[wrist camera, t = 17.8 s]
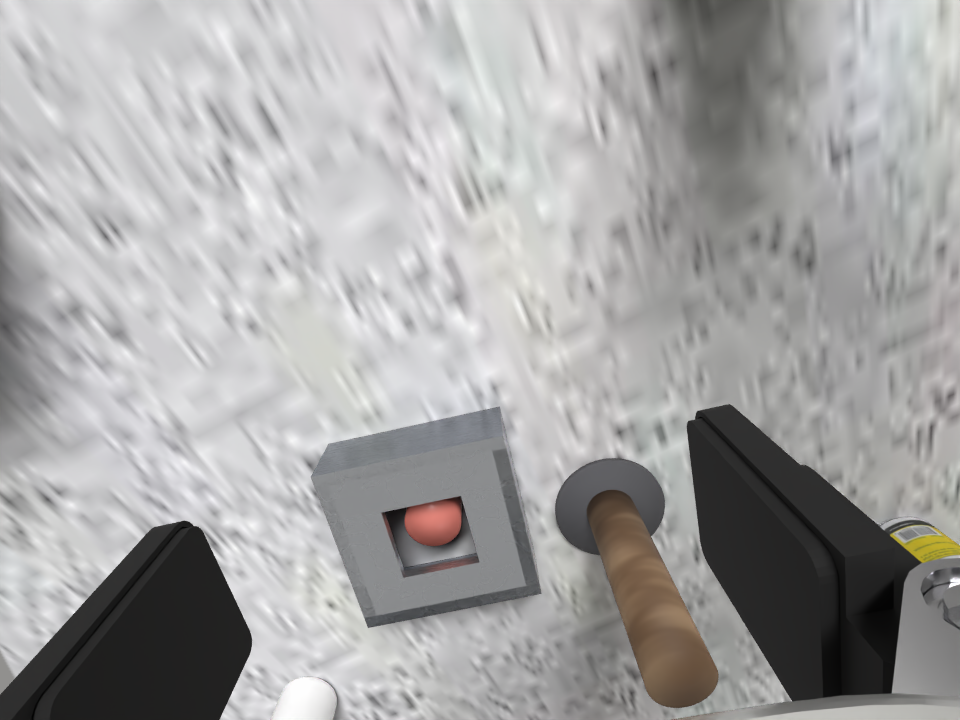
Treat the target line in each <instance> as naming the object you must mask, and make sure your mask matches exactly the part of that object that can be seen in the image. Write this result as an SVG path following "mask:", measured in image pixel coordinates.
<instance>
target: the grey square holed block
mask: <svg viewBox="0 0 960 720" xmlns="http://www.w3.org/2000/svg"><path fill="white" fill-rule="evenodd" d="M311 479H312V482H313V484H314V487H315V489H316V492H317V495H318V497H319V500H320V503H321V505H322V508H323V510H324V513H325V516H326V518H327V521H328V524H329V526H330V529H331V531H332V534H333V537H334V539H335V542H336V545H337V547H338V550H339V552H340V555H341V558H342V560H343V563H344V566H345V568H346V571H347V573H348V576H349V579H350V581H351V584H352V587H353V589H354V592H355V594H356V597H357V600H358V602H359V605H360V608H361V610H362V613H363V615H364V618H365V621H366V623H367V626H368V628H370V627H375V626H380V625H385V624H390V623H395V622H400V621H405V620H410V619H415V618H420V617H425V616H430V615H436V614H441V613H446V612H451V611H456V610H461V609H466V608H471V607H476V606H481V605H486V604H491V603H496V602H501V601H506V600H511V599H516V598H522V597H527V596H532V595H537V594H541V589H540V583H539V577H538V571H537V565H536V559H535V553H534V549H533V544H532V540H531V536H530V532H529V528H528V523H527V519H526V515H525V511H524V507H523V503H522V498H521V494H520V490H519V486H518V482H517V478H516V473H515V469H514V465H513V461H512V457H511V453H510V448H509V444H508V440H507V436H506V432H505V427H504V423H503V419H502V415H501V411H500V407H496V408H492V409H487V410H483V411H478V412H473V413H469V414H464V415H460V416H455V417H451V418H446V419H441V420H437V421H432V422H428V423H423V424H419V425H414V426H410V427H405V428H400V429H396V430H391V431H387V432H382V433H378V434H373V435H368V436H364V437H359V438H355V439H350V440H346V441H341V442H336V443H332V444H328V446H327V448H326V450H325V452H324V454H323V455H322V457H321V459H320V461H319V463H318V465H317V467H316V469H315V470H314V472H313V474H312V476H311ZM458 496H461V498H462V502H463V505H464V509H465V512H466V516H467V519H468V523H469V526H470V530H471V534H472V537H473V541H474V544H475V548H476V551H477V553H475V554H470V555H465V556H461V557H456V558H451V559H446V560H441V561H436V562H431V563H426V564H421V565H416V566H411V567H406V568H403V565H402V562H401V559H400V556H399V553H398V550H397V547H396V544H395V541H394V538H393V535H392V532H391V529H390V526H389V523H388V520H387V517H386V515H385V512H386V511H391V510H396V509H401V508H405V507H410V506H415V505H420V504H424V503H429V502H434V501H439V500H444V499H448V498H453V497H458Z"/></svg>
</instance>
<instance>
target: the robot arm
mask: <svg viewBox="0 0 960 720" xmlns="http://www.w3.org/2000/svg"><path fill="white" fill-rule="evenodd" d="M687 433H688V442H689V450H690V458H691V467H692V475H693V484H694V492H695V501H696V509H697V518H698V526H699V534H700V542H701V547H702V551H703V554H704V556H705V559H706V561H707V563H708V565H709V566H710V568H711V570H712V571H713V573H714V574H715V576H716V578H717V579H718V581H719V583H720V584H721V586H722V588H723V589H724V591H725V592H726V594H727V596H728V597H729V599H730V601H731V602H732V604H733V605H734V607H735V609H736V610H737V612H738V614H739V615H740V617H741V618H742V620H743V622H744V623H745V625H746V627H747V628H748V630H749V632H750V633H751V635H752V636H753V638H754V640H755V641H756V643H757V645H758V646H759V648H760V649H761V651H762V653H763V654H764V656H765V658H766V659H767V661H768V662H769V664H770V666H771V667H772V669H773V671H774V672H775V674H776V676H777V677H778V679H779V680H780V682H781V684H782V685H783V687H784V689H785V690H786V692H787V693H788V695H789V697H790V698H791V700H792V702H783V703H774V704H768V705H761V706H755V707H748V708H742V709H735V710H729V711H723V712H716V713H710V714H704V715H697V716H691V717H685V718H678V719H672V720H960V558H948V559H936V560H932V561H928V562H925V563H922V562H921V561H919V560H918V559H917V558H916V557H915V556H914V555H912V554H911V553H910V552H909V551H908V550H907V549H905V548H904V547H903V546H902V545H901V544H900V543H898V542H897V541H896V540H895V539H894V538H892V537H891V536H890V535H889V534H888V533H887V532H885V531H884V530H883V529H882V528H881V527H880V526H878V525H877V524H876V523H875V522H874V521H873V520H871V519H870V518H869V517H868V516H867V515H866V514H864V513H863V512H862V511H861V510H860V509H859V508H857V507H856V506H855V505H854V504H853V503H851V502H850V501H849V500H848V499H847V498H846V497H844V496H843V495H842V494H841V493H840V492H839V491H837V490H836V489H835V488H834V487H833V486H832V485H830V484H829V483H828V482H827V481H826V480H825V479H823V478H822V477H821V476H820V475H819V474H818V473H816V472H815V471H814V470H813V469H811V468H810V467H808V466H806V465H800V464H798V463H797V462H796V461H795V460H794V459H793V458H792V457H790V456H789V455H788V454H787V453H786V452H785V451H784V450H782V449H781V448H780V447H779V446H778V445H777V444H776V443H774V442H773V441H772V440H771V439H770V438H769V437H768V436H766V435H765V434H764V433H763V432H762V431H761V430H760V429H758V428H757V427H756V426H755V425H754V424H753V423H751V422H750V421H749V420H748V419H747V418H746V417H745V416H743V415H742V414H741V413H740V412H739V411H738V410H737V409H735V408H734V407H733V406H732V405H730V404H729V405H723V406H719V407H714V408H709V409H705V410H700V411H697V413H696V417H695V420H691V421H688V423H687ZM251 647H252V637H251V633H250V630H249V628H248V626H247V624H246V622H245V620H244V618H243V615H242V613H241V611H240V609H239V607H238V605H237V603H236V601H235V599H234V596H233V594H232V592H231V590H230V588H229V586H228V584H227V582H226V579H225V577H224V575H223V573H222V571H221V569H220V567H219V565H218V563H217V560H216V558H215V556H214V554H213V552H212V550H211V548H210V546H209V544H208V541H207V539H206V537H205V535H204V533H203V531H202V530H201V529H200V528H199V527H196V526H193V525H192V524H191V523H190V522H188V521H181V522H176V523H172V524H167V525H162V526H158V527H154V528H153V529H151V530H150V531H149V532H148V533H147V534H146V535H145V536H144V537H143V539H142V540H141V541H140V542H139V543H138V544H137V545H136V546H135V547H134V548H133V550H132V551H131V552H130V553H129V554H128V555H127V556H126V557H125V558H124V559H123V560H122V562H121V563H120V564H119V565H118V566H117V567H116V568H115V569H114V570H113V571H112V573H111V574H110V575H109V576H108V577H107V578H106V579H105V580H104V581H103V582H102V584H101V585H100V586H99V587H98V588H97V589H96V590H95V591H94V592H93V593H92V595H91V596H90V597H89V598H88V599H87V600H86V601H85V602H84V603H83V604H82V606H81V607H80V608H79V609H78V610H77V611H76V612H75V613H74V614H73V615H72V617H71V618H70V619H69V620H68V621H67V622H66V623H65V624H64V625H63V626H62V628H61V629H60V630H59V631H58V632H57V633H56V634H55V635H54V636H53V637H52V639H51V640H50V641H49V642H48V643H47V644H46V645H45V646H44V647H43V648H42V650H41V651H40V652H39V653H38V654H37V655H36V656H35V657H34V658H33V659H32V661H31V662H30V663H29V664H28V665H27V666H26V667H25V668H24V669H23V670H22V671H21V673H20V674H19V675H18V676H17V677H16V678H15V679H14V680H13V682H11V684H10V685H9V686H8V687H7V688H6V689H5V690H4V691H3V692H2V693H1V695H0V720H219V719H220V717H221V715H222V713H223V711H224V709H225V706H226V704H227V702H228V700H229V698H230V696H231V693H232V691H233V689H234V687H235V685H236V683H237V681H238V678H239V676H240V674H241V672H242V670H243V668H244V665H245V663H246V661H247V659H248V657H249V655H250V652H251Z"/></svg>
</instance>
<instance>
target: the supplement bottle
mask: <svg viewBox="0 0 960 720" xmlns="http://www.w3.org/2000/svg"><path fill="white" fill-rule="evenodd" d="M880 527H881V528H882V529H883V530H884V531H885V532H887V533H888V534H889V535H890V536H891V537H892V538H894V539H895V540H896V541H897V542H898V543H900V544H901V545H902V546H903V547H904V548H905V549H907V550H908V551H909V552H910V553H911V554H912V555H914V556H915V557H916V558H917V559H918V560H919V561H921V562H922V563H925V562H928V561H932V560H936V559H948V558H960V546H959V545H958V544H957V543H955V542H954V541H953V540H951V539H950V538H949V537H947V536H946V535H945V534H943V533H942V532H940V531H939V530H938V529H936V528H935V527H934V526H932V525H931V524H929V523H928V522H926V521H924V520H921V519H918V518H913V517H902V518H897V519H893V520H890V521H888V522H886V523H884V524H883V525H881V526H880Z"/></svg>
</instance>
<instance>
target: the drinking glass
mask: <svg viewBox="0 0 960 720" xmlns="http://www.w3.org/2000/svg"><path fill="white" fill-rule="evenodd" d="M336 706H337V696H336V693H335V691H334V689H333V688H332V687H331V685H330V684H328V683H327V682H326V681H324V680H322V679H319V678H316V677H300V678H297V679H294V680H292V681H291V682H289V683H288V684H287V685H286V686H285V687H284V689H283V690H282V692H281V694H280V697H279V699H278V702H277V705H276V708H275V710H274V712H273V714H272V717H271V719H270V720H333V718H334V714H335V710H336Z"/></svg>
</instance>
